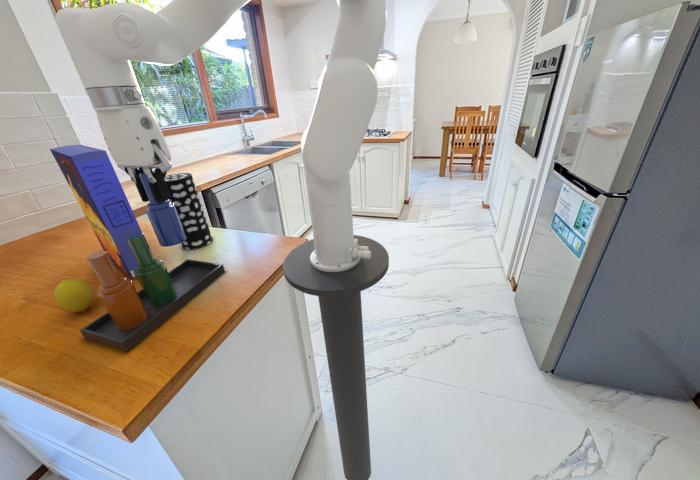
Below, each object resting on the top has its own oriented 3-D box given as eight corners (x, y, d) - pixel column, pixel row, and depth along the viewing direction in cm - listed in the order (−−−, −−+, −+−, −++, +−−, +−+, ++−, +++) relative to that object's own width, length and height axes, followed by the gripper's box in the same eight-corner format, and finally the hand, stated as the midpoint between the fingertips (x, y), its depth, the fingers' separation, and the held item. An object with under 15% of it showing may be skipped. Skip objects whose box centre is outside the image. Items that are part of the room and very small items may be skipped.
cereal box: (106, 254, 84) (49, 147, 70) (129, 246, 88) (80, 143, 74) (132, 279, 71) (69, 155, 57) (158, 268, 75) (105, 149, 61)
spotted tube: (175, 248, 84) (149, 181, 75) (196, 235, 91) (174, 172, 82) (199, 250, 82) (174, 182, 73) (218, 237, 89) (198, 173, 80)
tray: (225, 272, 71) (222, 264, 70) (128, 352, 50) (122, 342, 49) (190, 266, 75) (187, 259, 74) (85, 339, 54) (79, 330, 53)
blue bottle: (191, 236, 64) (167, 169, 57) (172, 247, 60) (144, 177, 53) (174, 234, 66) (148, 169, 59) (154, 245, 62) (124, 176, 55)
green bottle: (182, 292, 63) (157, 231, 56) (162, 308, 59) (132, 244, 52) (164, 289, 65) (137, 229, 58) (144, 303, 61) (112, 241, 54)
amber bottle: (154, 314, 58) (122, 248, 51) (130, 333, 53) (91, 264, 46) (136, 309, 59) (102, 245, 52) (110, 327, 55) (70, 260, 48)
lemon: (92, 299, 65) (74, 269, 61) (105, 306, 62) (87, 275, 58) (62, 315, 60) (40, 284, 57) (74, 323, 58) (53, 291, 54)
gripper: (171, 96, 51) (202, 196, 59) (107, 101, 56) (144, 192, 64) (131, 98, 45) (172, 209, 53) (63, 103, 50) (111, 204, 58)
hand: (157, 199), depth 59 cm, fingers closed on blue bottle, 2 cm apart
